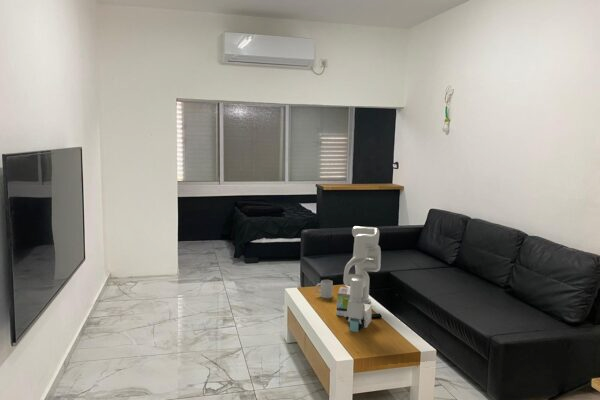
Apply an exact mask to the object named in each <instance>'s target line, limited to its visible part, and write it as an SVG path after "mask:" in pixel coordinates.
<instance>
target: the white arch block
mask: <svg viewBox="0 0 600 400" xmlns="http://www.w3.org/2000/svg"><path fill="white" fill-rule="evenodd" d="M364 305H365V315H366V316H367V318H368V319H367V320H366V321H364V322H363V328H364V329H366V328H368V326H369V325H370V324H371V322H372V315H373V313H372V310H373V306H372V305H373V304H370V303H369V304H364ZM364 319H365V318H364Z"/></svg>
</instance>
